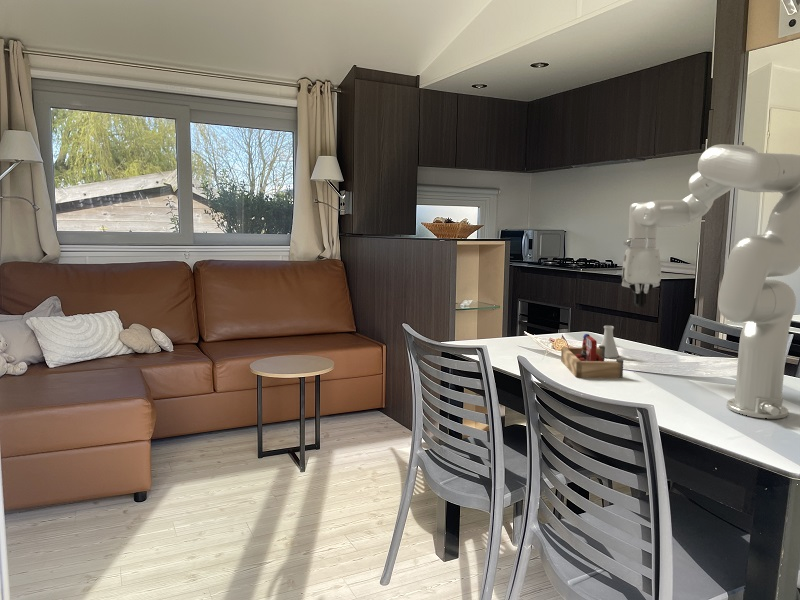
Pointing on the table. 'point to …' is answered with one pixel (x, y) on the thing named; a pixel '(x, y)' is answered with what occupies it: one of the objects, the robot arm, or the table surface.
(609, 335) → the flask
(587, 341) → the toy fire truck
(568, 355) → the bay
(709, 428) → the table surface
